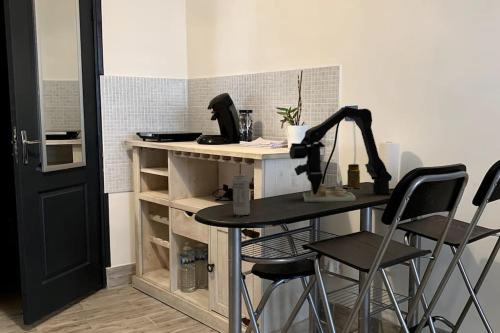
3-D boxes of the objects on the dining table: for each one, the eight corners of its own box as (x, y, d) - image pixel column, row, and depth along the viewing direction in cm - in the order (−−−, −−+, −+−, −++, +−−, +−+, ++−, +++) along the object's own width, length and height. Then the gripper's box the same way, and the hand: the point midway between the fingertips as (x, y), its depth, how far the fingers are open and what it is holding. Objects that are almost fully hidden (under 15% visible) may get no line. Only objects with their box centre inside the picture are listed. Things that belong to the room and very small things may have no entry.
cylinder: (341, 193, 233) (341, 180, 232) (342, 194, 230) (342, 181, 229) (335, 193, 233) (335, 181, 232) (335, 194, 230) (335, 181, 229)
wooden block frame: (344, 194, 222) (344, 183, 221) (347, 197, 213) (347, 185, 212) (310, 194, 223) (310, 183, 222) (311, 197, 214) (311, 185, 213)
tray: (350, 196, 224) (350, 192, 224) (355, 201, 210) (355, 196, 210) (303, 197, 225) (303, 193, 225) (304, 202, 211) (304, 197, 211)
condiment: (363, 187, 251) (363, 164, 250) (353, 189, 245) (353, 165, 244) (351, 187, 256) (351, 163, 255) (341, 188, 250) (341, 164, 249)
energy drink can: (253, 214, 185) (252, 174, 184) (242, 217, 181) (240, 176, 180) (241, 213, 189) (240, 173, 188) (230, 215, 185) (228, 175, 184)
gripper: (294, 157, 226) (295, 191, 228) (295, 160, 208) (296, 197, 209) (319, 156, 226) (320, 190, 227) (322, 159, 207) (323, 196, 208)
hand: (314, 193), depth 218 cm, fingers open, 4 cm apart
